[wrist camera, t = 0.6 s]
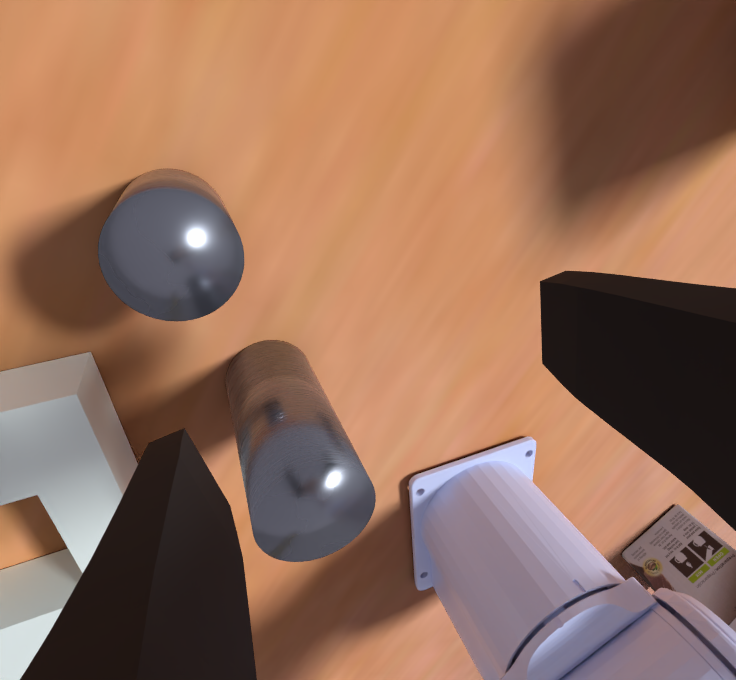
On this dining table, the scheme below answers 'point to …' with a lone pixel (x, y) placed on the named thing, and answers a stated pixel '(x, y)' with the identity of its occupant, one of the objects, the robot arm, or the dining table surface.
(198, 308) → the pin short
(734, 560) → the coffee box
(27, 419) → the board
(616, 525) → the dining table surface
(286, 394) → the pin long
